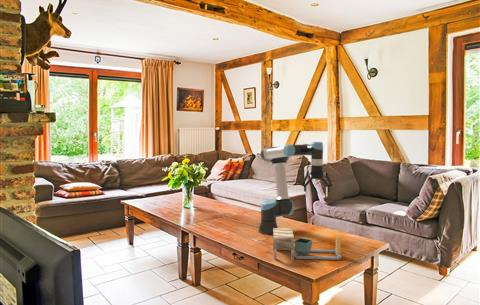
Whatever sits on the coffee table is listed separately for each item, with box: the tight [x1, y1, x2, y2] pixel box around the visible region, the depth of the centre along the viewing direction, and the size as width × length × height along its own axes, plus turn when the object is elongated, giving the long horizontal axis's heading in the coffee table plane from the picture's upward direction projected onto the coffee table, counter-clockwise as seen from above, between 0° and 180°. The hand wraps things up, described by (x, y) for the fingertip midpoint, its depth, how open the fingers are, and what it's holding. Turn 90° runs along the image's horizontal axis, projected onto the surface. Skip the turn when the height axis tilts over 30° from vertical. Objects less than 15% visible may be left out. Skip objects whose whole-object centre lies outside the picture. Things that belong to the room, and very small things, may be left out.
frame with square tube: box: [294, 234, 342, 261], centre depth 222 cm, size 14×28×12 cm, turn 86°
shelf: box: [272, 227, 295, 261], centre depth 224 cm, size 19×12×14 cm, turn 176°
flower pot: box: [294, 237, 313, 256], centre depth 223 cm, size 9×9×9 cm
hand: (316, 196), depth 241 cm, fingers open, 13 cm apart
